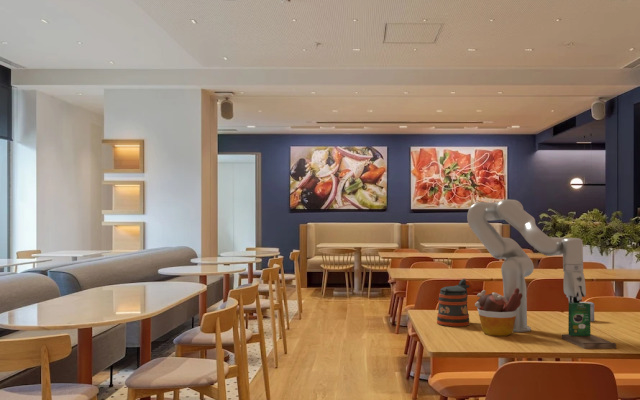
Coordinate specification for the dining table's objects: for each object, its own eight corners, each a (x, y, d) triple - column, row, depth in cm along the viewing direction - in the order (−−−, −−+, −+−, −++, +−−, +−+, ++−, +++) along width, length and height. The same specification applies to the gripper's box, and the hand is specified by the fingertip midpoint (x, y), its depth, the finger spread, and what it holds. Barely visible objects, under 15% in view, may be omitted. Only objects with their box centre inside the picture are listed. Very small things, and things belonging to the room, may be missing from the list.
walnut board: (584, 348, 208) (584, 343, 208) (561, 338, 226) (561, 333, 226) (616, 348, 208) (615, 343, 208) (590, 338, 226) (590, 333, 226)
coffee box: (587, 334, 225) (587, 302, 225) (591, 336, 222) (590, 303, 222) (568, 335, 224) (567, 302, 225) (571, 336, 221) (570, 303, 222)
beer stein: (450, 318, 271) (450, 277, 272) (479, 322, 262) (478, 279, 263) (431, 324, 257) (430, 280, 258) (460, 328, 247) (460, 283, 248)
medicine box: (591, 320, 267) (590, 301, 268) (594, 321, 263) (594, 303, 263) (573, 319, 268) (573, 301, 269) (577, 321, 264) (576, 303, 264)
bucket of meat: (466, 333, 236) (466, 286, 237) (486, 328, 248) (485, 283, 248) (511, 340, 222) (511, 290, 223) (530, 334, 233) (529, 286, 234)
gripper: (591, 269, 221) (593, 316, 220) (573, 266, 236) (574, 310, 235) (573, 269, 221) (574, 316, 220) (555, 267, 236) (556, 310, 235)
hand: (574, 313), depth 228 cm, fingers closed
